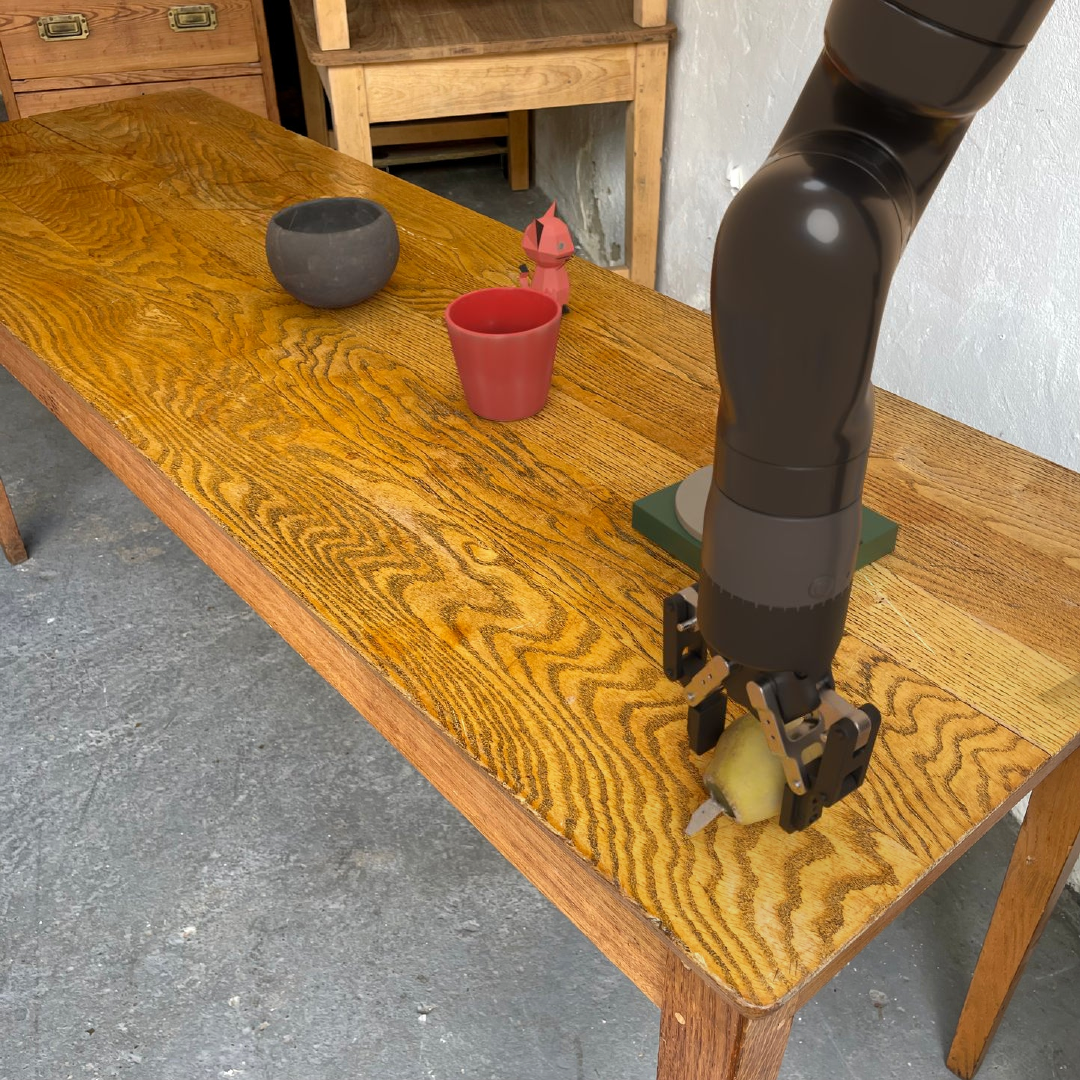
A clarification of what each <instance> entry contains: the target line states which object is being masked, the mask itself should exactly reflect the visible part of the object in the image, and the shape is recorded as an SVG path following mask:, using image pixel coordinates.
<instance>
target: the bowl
mask: <svg viewBox="0 0 1080 1080" xmlns="http://www.w3.org/2000/svg"><path fill="white" fill-rule="evenodd" d="M266 227H267V228H266V234H265V242H264V243H265V244H264V245H265V247H264V248H265V257H266V260H267V264H268V267H269V269H270V271H271V274H272V275H273V277H274V278H275V279H276V281H277V283H278V284H279V285H280V287H281V288H282V289H283V290H284V291H286V292H287V293H288V294H290V295H291V296H293V297H294V298H295V299H297V300H298V301H299V302H301V303H303V304H305V305H308V306H311V307H314V308H319V309H339V308H341V309H342V308H347V307H351V306H354V305H357V304H360V303H362V302H365V301H367V300H369V299H370V298H372V297H373V296H375V295H376V294H377V293H379V292H380V291H381V290H382V289H384V287H386V285H387V284H388V282H389V281H390V280H391V279H392V277H393V275H394V273H395V271H396V268H397V266H398V262H399V260H400V251H401V245H400V243H401V242H400V236H399V232H398V227H397V225H396V222H395V220H394V218H393V216H392V215H391V213H390V212H389V210H387V208H386V207H385V206H383V205H382V204H380V203H378V202H377V201H374V200H372V199H370V198H369V199H368V198H364V197H357V196H338V197H336V196H335V197H319V198H314V199H309V200H305V201H302V202H299V203H294V204H292V205H290V206H287V207H284V208H282V209H280V210H278V211H277V212H275V214H273V215H272V217H271V218H270V219H269V220H268V222H267V226H266Z"/></svg>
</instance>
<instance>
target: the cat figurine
mask: <svg viewBox="0 0 1080 1080" xmlns="http://www.w3.org/2000/svg"><path fill="white" fill-rule="evenodd" d="M578 244H579V242H577V244H576V245H575V246H576V247H575V246H574V243H573V232H572V231H570V232H569V228H568V225H567V224H566V223H565V222H564V221H563V220H562V219H560V218H559V213H558V207H557V200H554V202H553V203H552V204H551V206H550V207H549V208H548V210H547V211H546V212H545V214H544V215H543V216H542V217H539V218H534V219H533V221H532V222H531V223H529V225H527V226H526V228H525V230H524V233H523V235H522V238H521V248H522V250H523V251H524V253H525V255H526V257H527V258H528V259H530V260H531V261H533V262H535V263H536V264H535V267H534V271H533V274H532V276H531V280H530V285H529V282H528V276H529V275H530V270H529V269H528V266H527V265H526V263H522V264H520V265H519V266H518V269H519V271H520V275H519V277H518V280H519V281H520V284H521V288H527V289H533V290H537V291H541V292H544V293H546V294H549V295H550V296H552V297H554V298H555V299H556V300H557V301H558V302H559V303H560V305H561V308H562V315H566V314H569V313H570V312H571V309H570V307H568V306H567V303H570V287H571V286H572V284H571V280H570V274H569V273H568V272H567V269H566V267H565V265H566V264H567V263H568V262H569V261H570V260H571V259H572V258H573V257H574V256H575V255H576V254H577V252H578V251H579V249H578Z"/></svg>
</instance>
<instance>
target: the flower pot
mask: <svg viewBox="0 0 1080 1080" xmlns="http://www.w3.org/2000/svg"><path fill="white" fill-rule="evenodd" d="M562 315H563V314H562V308H561V305H560V303H559V302H558V301H557V300H556V299H555V298H554V297H552V296H550V295H549V294H546V293H544V292H541V291H537V290H533V289H527V288H523V287H518V286H517V287H516V286H498V287H488V288H482V289H476V290H474V291H473V290H472V291H470V292H467V293H465V294H462V295H460V296H458V297H456V298H455V299H454V300H452V301H451V302H450V303H449V304H448V305H447V306H446V307H445V309H444V322H445V325H446V331H447V334H448V335H447V336H448V338H449V339H448V340H449V343H450V348H451V351H452V355H453V358H454V363H455V366H456V370H457V373H458V377H459V380H460V385H461V387H462V390H463V394H464V397H465V401H466V404H467V407H468V408H469V410H470V411H471V412H472V413H474V414H476V415H477V416H479V417H480V418H483V419H486V420H489V421H495V422H497V421H498V422H513V421H519V420H524V419H527V418H530V417H532V416H535V415H536V414H538V413H540V412H541V411H542V410H543V409H544V408H545V406H546V404H547V402H548V398H549V392H550V387H551V381H552V378H553V377H552V376H553V371H554V366H555V360H556V354H557V347H558V342H559V336H560V329H561V323H562Z"/></svg>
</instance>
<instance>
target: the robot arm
mask: <svg viewBox="0 0 1080 1080" xmlns="http://www.w3.org/2000/svg"><path fill="white" fill-rule="evenodd" d="M1055 2H1056V0H831V3H830V5H829V9H828V12H827V15H826V17H825V21H824V27H823V47H822V49H821V51H820V53H819V56H818V58H817V60H816V62H814V66H813V67H812V70H811V71H810V73H809V76H808V78H807V80H806V82H805V84H804V86H803V88H802V90H801V92H800V94H799V96H798V97H797V100H796V103H795V104H794V106H793V109H792V111H791V112H790V115H789V117H788V118H787V121H786V122H785V124H784V126H783V128H782V130H781V132H780V134H779V135H778V137H777V139H776V141H775V143H774V145H773V146H772V148H771V149H770V151H769V153H768V155H767V157H766V158H765V160H764V162H763V163H762V164H761V165H760V167H759V168H758V169H757V170H756V171H755V172H754V174H753V175H751V177H750V178H749V179H748V180H747V181H746V183H745V184H743V186H742V187H741V188H740V189H739V191H738V192H737V193H736V194H735V195H734V197H733V199H731V201H730V203H729V205H728V206H727V208H726V210H725V212H724V213H723V217H722V219H721V222H720V224H719V228H718V230H717V235H716V238H715V243H714V249H713V254H712V261H711V264H712V265H711V271H710V282H709V283H710V284H709V285H710V286H709V302H710V303H709V306H710V319H711V320H710V322H711V323H710V324H711V332H712V342H713V343H712V344H713V351H714V360H715V369H716V375H717V379H718V385H719V389H720V395H719V401H718V405H717V414H716V421H715V432H714V433H715V434H714V446H713V458H712V459H713V460H712V464H713V473H712V479H711V485H710V489H709V493H708V497H707V501H706V506H705V512H704V520H703V535H702V550H701V561H700V574H699V576H698V577H699V578H698V581H697V582H695V583H692V584H691V585H688V586H686V587H684V588H681V589H679V590H677V591H676V592H674V593H673V594H670V595H668V596H667V597H665V598H664V599H663V600H662V671H663V674H664V676H665V678H666V679H667V680H668V681H669V682H671V683H676V682H677V681H678V682H679V683H680V685H681V686H682V687H683V689H682V696H683V699H684V701H685V703H686V704H687V718H686V719H687V720H686V733H687V736H688V737H687V738H689V742H688V748H689V750H691V751H692V752H693V753H694V754H695V755H696V756H699V757H700V756H702V755H704V754H706V753H708V752H709V751H711V750H713V749H715V747H716V745H717V742H718V740H719V738H720V736H721V734H722V733H723V731H724V730H725V729H726V727H725V726H726V718H727V717H726V716H727V708H728V699H730V700H732V701H733V702H734V703H736V704H738V705H740V706H742V707H744V708H745V709H747V710H748V712H751V714H752V715H753V716H754V717H755V718H756V719H757V720H758V721H760V722H761V724H762V727H763V731H764V734H765V737H766V740H767V743H768V746H769V750H770V752H771V753H772V754H775V755H779V757H780V759H781V762H782V766H783V769H784V772H785V775H786V778H787V783H786V784H785V786H784V793H783V800H782V806H781V813H780V814H779V820H778V826H779V827H780V828H781V829H782V830H783V831H785V833H787V834H788V835H792V834H795V832H799V833H801V832H803V831H804V830H806V829H807V828H809V827H810V826H811V825H814V823H816V822H817V821H819V820H820V819H821V818H822V816H823V809H825V808H826V809H828V808H831V807H832V806H834V805H836V804H837V803H838V802H841V800H843V799H844V798H846V797H847V796H849V795H851V794H852V793H853V792H854V791H856V790H857V789H859V788H861V787H862V786H863V785H864V782H865V778H866V775H867V772H868V768H869V765H870V761H871V758H872V754H873V751H874V748H875V745H876V741H877V738H878V734H879V731H880V727H881V723H882V719H883V718H882V713H881V712H880V710H879V708H878V707H877V706H876V705H874V704H873V703H871V702H865V703H863V704H862V705H860V706H858V707H855V706H854V705H853V704H852V703H850V702H849V701H847V700H846V699H845V698H843V697H842V695H840V694H839V693H838V692H836V681H835V678H834V675H833V669H832V665H833V660H834V658H835V656H836V654H837V651H838V650H839V648H840V645H841V642H842V640H843V637H844V633H845V628H846V621H847V616H848V610H849V605H850V600H851V594H852V587H853V582H854V575H855V572H854V570H855V564H856V559H857V554H858V548H859V543H860V536H861V528H862V504H863V496H864V495H863V494H864V486H865V480H866V474H867V468H868V464H869V463H868V462H869V457H870V451H871V446H872V445H871V444H872V440H873V439H872V438H873V435H874V427H875V419H876V418H875V417H876V394H875V387H874V384H873V382H872V374H873V369H874V362H875V358H876V352H877V346H878V341H879V336H880V331H881V326H882V325H881V324H882V322H883V317H884V314H885V313H884V312H885V308H886V305H887V300H888V296H889V292H890V289H891V284H892V281H893V278H894V275H895V273H896V270H897V269H898V267H899V263H900V262H901V259H902V257H903V255H904V253H905V250H906V248H907V246H908V244H909V242H910V240H911V238H912V236H913V234H914V232H915V230H916V229H917V227H918V224H919V223H920V220H921V219H922V217H923V215H924V213H925V211H926V209H927V207H928V205H929V203H930V201H931V200H932V198H933V196H934V194H935V192H936V190H937V189H938V187H939V185H940V184H941V181H942V179H943V177H944V176H945V174H946V171H948V168H949V166H950V164H951V162H952V161H953V159H954V157H955V155H956V153H957V151H958V150H959V148H960V146H961V144H962V143H963V140H964V139H965V136H967V133H968V131H969V129H970V127H971V125H972V123H973V122H974V119H975V117H976V116H977V114H978V112H979V111H981V110H982V109H983V108H984V107H985V106H987V104H988V103H990V101H991V100H992V99H994V97H995V95H997V93H998V92H999V90H1000V89H1001V87H1002V86H1003V85H1004V83H1006V81H1007V80H1008V78H1009V76H1010V75H1011V74H1012V72H1013V71H1014V69H1015V68H1016V67H1017V65H1018V63H1019V61H1020V60H1021V58H1022V57H1023V55H1024V54H1025V52H1026V51H1027V49H1028V47H1029V44H1030V43H1031V42H1032V41H1033V39H1034V38H1035V36H1036V34H1037V32H1038V31H1039V29H1040V27H1041V25H1042V24H1043V23H1044V21H1045V19H1046V17H1047V15H1049V12H1050V10H1051V9H1052V7H1053V5H1055ZM685 649H687V652H684V650H685ZM708 653H709V657H710V658H711V659H709V661H708ZM724 690H726V693H725V694H724V693H722V691H724ZM798 718H804V720H803V722H802V723H801V724H800V725H798V726H797V727H795V728H794V729H792V730H790V731H789V732H786V729H785V725H786V724H788V723H790V722H792V721H794V720H796V719H798ZM807 747H808V751H809V754H810V757H811V760H812V761H810V762H808V763H807V764H805V765H804V763H803V760H802V757H801V754H802V751H803V750H804V749H806V748H807Z"/></svg>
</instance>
